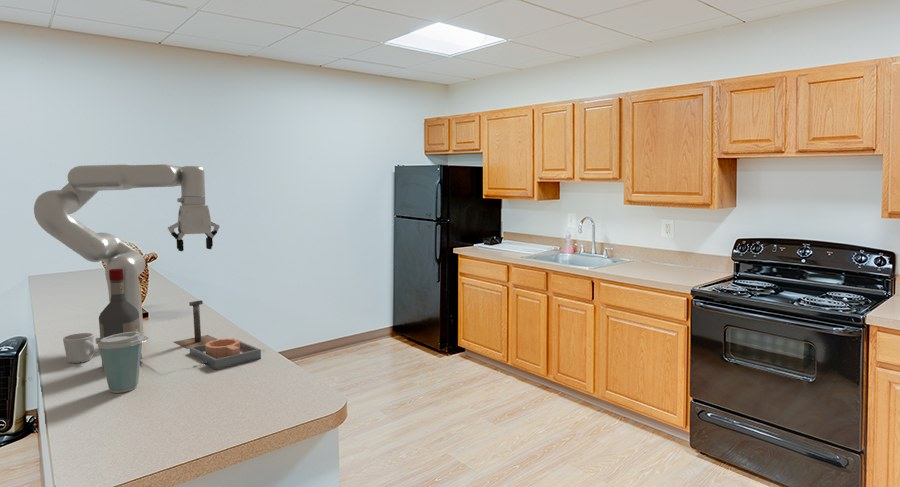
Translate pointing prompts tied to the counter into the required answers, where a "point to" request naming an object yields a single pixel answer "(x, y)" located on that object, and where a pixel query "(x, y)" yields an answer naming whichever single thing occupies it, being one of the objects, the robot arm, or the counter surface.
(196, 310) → the post stand
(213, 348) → the ring
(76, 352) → the cup
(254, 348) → the gray rectangular frame
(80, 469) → the counter surface
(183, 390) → the counter surface
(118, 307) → the liquor
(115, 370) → the disposable coffee cup
